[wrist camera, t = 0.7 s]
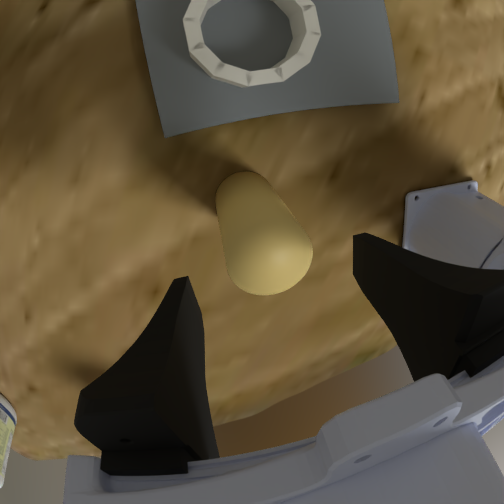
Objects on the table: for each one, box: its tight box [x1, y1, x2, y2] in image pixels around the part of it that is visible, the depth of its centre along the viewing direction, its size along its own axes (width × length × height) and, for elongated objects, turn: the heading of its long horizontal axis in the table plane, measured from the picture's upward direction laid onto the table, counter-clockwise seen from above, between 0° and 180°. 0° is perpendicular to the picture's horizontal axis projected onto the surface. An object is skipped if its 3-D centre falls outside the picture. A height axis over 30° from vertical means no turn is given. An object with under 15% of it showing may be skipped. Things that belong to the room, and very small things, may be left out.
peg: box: [215, 171, 313, 295], centre depth 17 cm, size 4×4×8 cm
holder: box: [135, 0, 399, 138], centre depth 14 cm, size 16×11×4 cm
